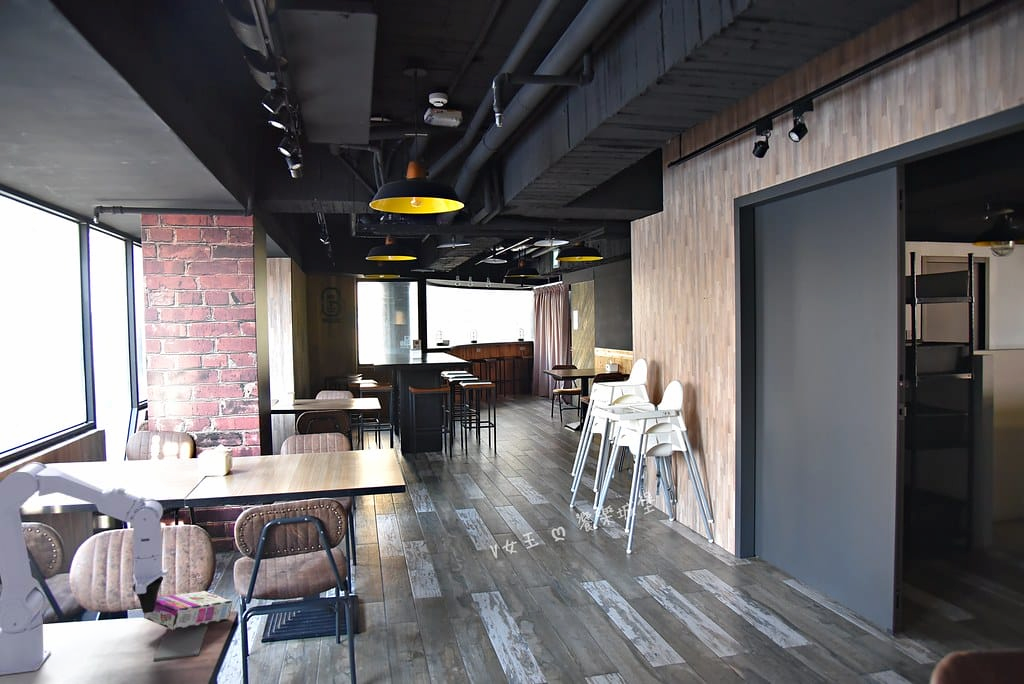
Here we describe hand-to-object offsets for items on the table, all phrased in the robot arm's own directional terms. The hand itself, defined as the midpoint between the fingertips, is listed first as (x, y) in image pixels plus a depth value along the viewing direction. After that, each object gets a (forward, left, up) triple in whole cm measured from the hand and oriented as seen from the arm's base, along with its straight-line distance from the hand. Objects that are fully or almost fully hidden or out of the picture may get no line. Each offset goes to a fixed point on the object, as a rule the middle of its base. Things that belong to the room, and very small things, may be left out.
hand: (148, 611), depth 152 cm
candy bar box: (+1, +2, -2) cm, 3 cm away
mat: (+7, 0, -8) cm, 11 cm away
